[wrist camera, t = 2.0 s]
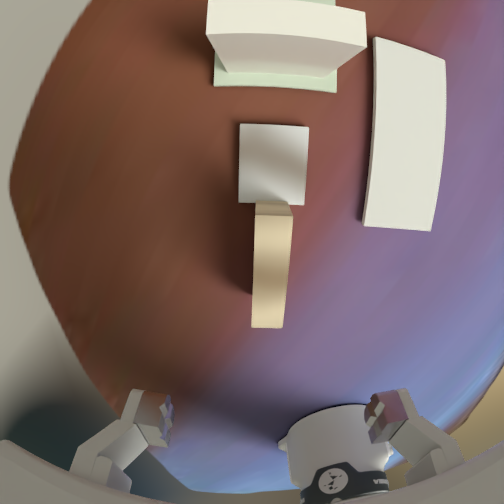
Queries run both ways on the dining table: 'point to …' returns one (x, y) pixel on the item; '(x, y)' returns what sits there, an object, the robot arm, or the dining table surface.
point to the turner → (272, 208)
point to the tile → (284, 36)
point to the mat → (275, 75)
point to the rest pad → (405, 137)
